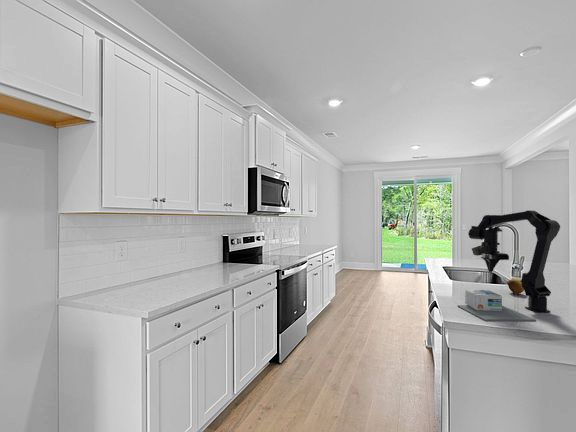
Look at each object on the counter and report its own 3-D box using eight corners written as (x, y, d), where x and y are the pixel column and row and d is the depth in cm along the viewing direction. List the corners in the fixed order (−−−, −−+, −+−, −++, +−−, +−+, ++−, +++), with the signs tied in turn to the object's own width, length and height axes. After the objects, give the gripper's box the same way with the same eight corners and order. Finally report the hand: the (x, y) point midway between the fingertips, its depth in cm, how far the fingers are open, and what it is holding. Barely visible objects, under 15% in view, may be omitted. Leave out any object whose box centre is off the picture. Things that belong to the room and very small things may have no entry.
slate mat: (535, 321, 128) (536, 319, 128) (485, 320, 128) (485, 319, 128) (501, 306, 148) (501, 305, 148) (457, 306, 148) (457, 305, 148)
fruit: (517, 296, 168) (517, 280, 168) (502, 292, 176) (503, 277, 176) (528, 295, 170) (529, 279, 170) (513, 291, 178) (514, 276, 178)
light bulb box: (489, 289, 149) (502, 295, 138) (489, 304, 149) (502, 311, 138) (464, 289, 150) (476, 294, 139) (464, 304, 150) (476, 310, 139)
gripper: (464, 238, 172) (463, 268, 172) (486, 241, 153) (485, 275, 153) (485, 239, 172) (484, 268, 172) (510, 242, 153) (509, 275, 153)
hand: (490, 272), depth 163 cm, fingers closed
